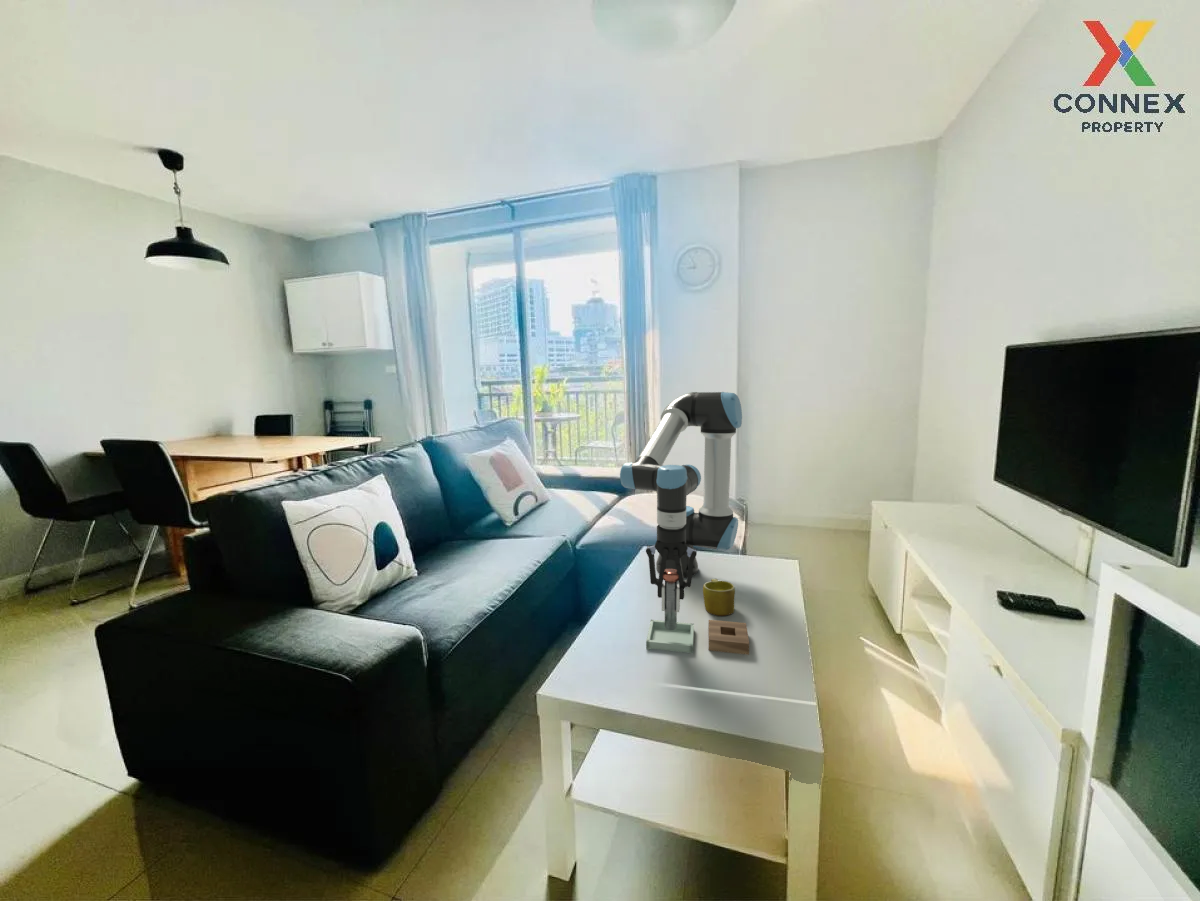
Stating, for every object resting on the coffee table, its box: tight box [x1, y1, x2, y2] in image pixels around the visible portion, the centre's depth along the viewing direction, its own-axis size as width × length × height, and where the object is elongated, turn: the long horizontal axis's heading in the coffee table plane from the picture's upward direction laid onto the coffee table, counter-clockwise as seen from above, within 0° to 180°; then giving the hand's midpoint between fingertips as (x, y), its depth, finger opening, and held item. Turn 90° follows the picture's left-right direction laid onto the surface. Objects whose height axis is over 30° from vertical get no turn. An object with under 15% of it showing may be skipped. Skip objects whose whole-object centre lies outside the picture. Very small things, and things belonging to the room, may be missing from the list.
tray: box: [645, 619, 695, 654], centre depth 126 cm, size 11×12×2 cm
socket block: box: [707, 619, 750, 656], centre depth 124 cm, size 10×10×4 cm
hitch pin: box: [663, 569, 679, 630], centre depth 124 cm, size 5×5×16 cm
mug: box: [702, 578, 736, 617], centre depth 142 cm, size 12×10×10 cm
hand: (670, 608), depth 125 cm, fingers closed on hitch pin, 3 cm apart
